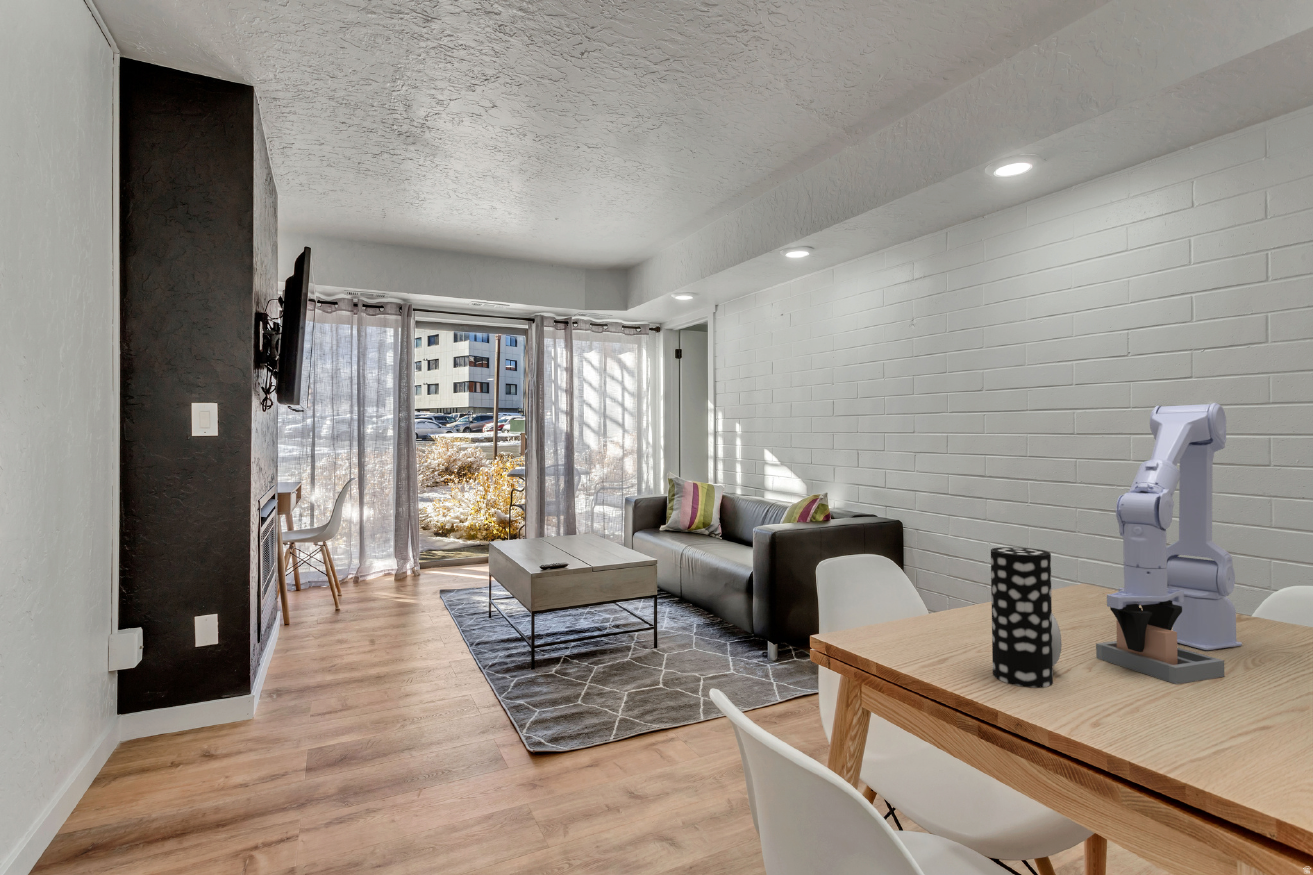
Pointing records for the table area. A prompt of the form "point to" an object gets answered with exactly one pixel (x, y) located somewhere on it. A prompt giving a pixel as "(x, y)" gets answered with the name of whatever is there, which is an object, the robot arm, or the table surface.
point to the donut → (1055, 640)
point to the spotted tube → (1021, 616)
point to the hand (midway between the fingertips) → (1146, 648)
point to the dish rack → (1164, 664)
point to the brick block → (1154, 644)
